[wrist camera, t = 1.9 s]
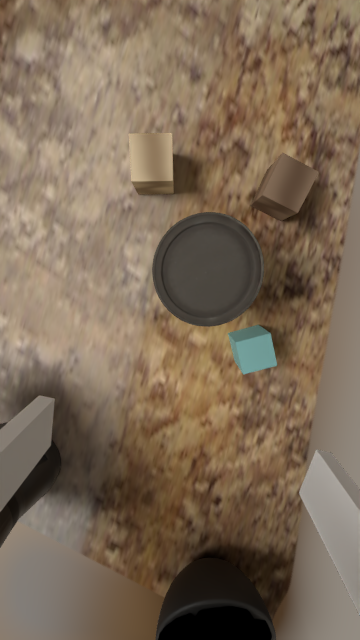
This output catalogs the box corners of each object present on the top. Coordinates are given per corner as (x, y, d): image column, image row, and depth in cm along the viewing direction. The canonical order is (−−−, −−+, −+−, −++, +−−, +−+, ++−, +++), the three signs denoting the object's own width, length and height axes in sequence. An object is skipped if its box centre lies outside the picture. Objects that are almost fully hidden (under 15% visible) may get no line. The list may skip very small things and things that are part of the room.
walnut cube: (250, 205, 33) (262, 194, 28) (266, 170, 32) (282, 152, 27) (280, 221, 33) (297, 213, 29) (298, 186, 32) (319, 172, 28)
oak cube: (138, 194, 33) (131, 181, 28) (136, 154, 32) (128, 133, 27) (173, 194, 33) (172, 180, 28) (172, 154, 32) (171, 133, 27)
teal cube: (234, 360, 38) (243, 374, 33) (227, 332, 37) (235, 342, 32) (264, 353, 38) (277, 365, 33) (258, 324, 37) (270, 333, 32)
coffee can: (198, 318, 36) (210, 347, 23) (148, 273, 35) (129, 276, 21) (244, 268, 35) (288, 267, 21) (194, 219, 33) (205, 184, 19)
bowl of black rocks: (163, 603, 50) (153, 797, 32) (157, 532, 46) (142, 708, 27) (254, 600, 50) (299, 792, 32) (257, 528, 46) (311, 702, 27)
